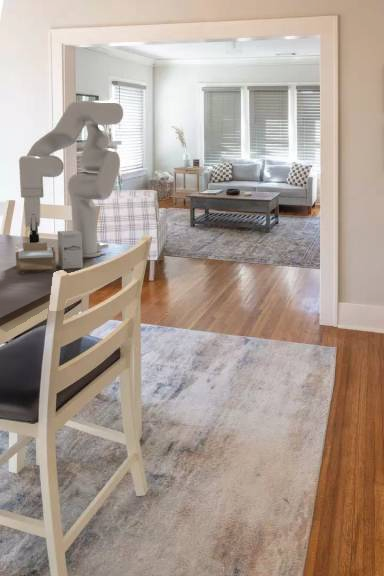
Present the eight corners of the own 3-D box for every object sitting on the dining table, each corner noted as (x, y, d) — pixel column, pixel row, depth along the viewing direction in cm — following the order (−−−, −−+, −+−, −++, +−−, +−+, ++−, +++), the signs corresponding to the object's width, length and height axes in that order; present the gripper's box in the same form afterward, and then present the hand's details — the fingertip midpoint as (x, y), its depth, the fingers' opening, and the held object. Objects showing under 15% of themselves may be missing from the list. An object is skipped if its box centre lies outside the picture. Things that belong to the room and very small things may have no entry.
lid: (18, 250, 202) (18, 241, 201) (51, 249, 205) (51, 240, 204) (18, 258, 190) (18, 248, 189) (53, 257, 193) (53, 247, 192)
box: (17, 265, 208) (15, 245, 206) (54, 263, 211) (53, 244, 209) (16, 273, 196) (15, 252, 194) (56, 271, 199) (55, 250, 197)
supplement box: (62, 269, 202) (61, 234, 199) (58, 265, 209) (56, 230, 205) (83, 268, 205) (82, 233, 202) (78, 263, 212) (77, 229, 208)
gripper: (20, 191, 203) (23, 242, 208) (20, 195, 189) (23, 249, 194) (42, 190, 205) (45, 241, 210) (43, 194, 191) (46, 249, 196)
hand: (34, 245), depth 202 cm, fingers closed
